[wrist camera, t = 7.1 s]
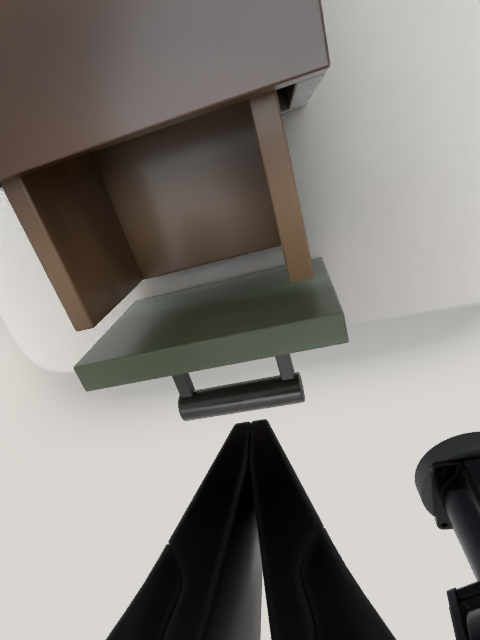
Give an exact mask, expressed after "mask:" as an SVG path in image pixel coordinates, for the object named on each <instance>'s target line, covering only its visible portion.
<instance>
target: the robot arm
mask: <svg viewBox="0 0 480 640" xmlns="http://www.w3.org/2000/svg"><path fill="white" fill-rule="evenodd" d="M440 468H441V469H440ZM431 479H432V490H433V502H434V513H435V521H436V524H437V526H438V528H440V529H454V531H455V533H456V535H457V538H458V539H459V542H460V544H461V546H462V548H463V551H464V553H465V555H466V557H467V559H468V562H469V564H470V566H471V568H472V570H473V573H474V574H475V577H476V579H477V582H475V583H472V584H469V585H467V586H464V587H461V588H459V589H456V588H453V589H450V590H448V591H447V596H448V601H449V605H450V607H449V609H450V613H451V618H452V623H453V627H454V632H455V637H456V640H480V456H477V457H469V458H460V459H452V460H443V461H436V462H434V463H432V465H431ZM262 569H263V577H264V585H265V593H266V600H267V608H268V616H269V624H270V631H271V639H272V640H396V639H395V637H394V636H393V635H392V633H391V631H390V630H389V629H388V627H387V626H386V624H385V623H384V622H383V620H382V619H381V617H380V616H379V614H378V613H377V612H376V610H375V609H374V607H373V606H372V604H371V603H370V601H369V600H368V599H367V597H366V596H365V595H364V593H363V591H362V590H361V588H360V587H359V585H358V584H357V582H356V581H355V579H354V578H353V576H352V574H351V573H350V572H349V570H348V568H347V567H346V565H345V563H344V562H343V560H342V558H341V556H340V555H339V553H338V551H337V549H336V548H335V546H334V544H333V542H332V540H331V539H330V537H329V535H328V533H327V531H326V529H325V528H324V527H323V524H322V522H321V520H320V518H319V516H318V514H317V513H316V511H315V509H314V507H313V505H312V503H311V501H310V499H309V498H308V496H307V494H306V492H305V490H304V488H303V486H302V485H301V483H300V481H299V479H298V477H297V475H296V473H295V471H294V469H293V468H292V466H291V464H290V462H289V460H288V458H287V456H286V454H285V453H284V451H283V449H282V447H281V445H280V443H279V441H278V439H277V437H276V436H275V434H274V432H273V430H272V428H271V427H270V424H269V422H268V421H267V420H266V419H264V420H258V421H253V422H252V423H250V422H243V423H237V424H235V425H234V427H233V429H232V430H231V432H230V434H229V436H228V437H227V439H226V441H225V443H224V445H223V446H222V448H221V450H220V452H219V453H218V455H217V457H216V459H215V460H214V462H213V464H212V466H211V467H210V469H209V471H208V473H207V475H206V476H205V478H204V480H203V482H202V484H201V485H200V487H199V489H198V490H197V492H196V494H195V496H194V497H193V500H192V501H191V503H190V504H189V506H188V508H187V510H186V511H185V513H184V515H183V517H182V519H181V520H180V522H179V524H178V526H177V527H176V529H175V531H174V533H173V534H172V536H171V538H170V540H169V544H167V545H166V547H165V548H164V550H163V552H162V554H161V555H160V557H159V559H158V561H157V562H156V564H155V566H154V567H153V569H152V571H151V572H150V574H149V576H148V578H147V579H146V581H145V582H144V584H143V585H142V587H141V588H140V590H139V591H138V593H137V595H136V596H135V598H134V599H133V601H132V602H131V604H130V605H129V607H128V608H127V610H126V611H125V613H124V614H123V616H122V617H121V618H120V620H119V621H118V623H117V624H116V626H115V627H114V629H113V630H112V632H111V633H110V634H109V636H108V637H107V639H106V640H260V630H261V597H262V596H261V595H262Z"/></svg>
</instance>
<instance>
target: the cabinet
mask: <svg viewBox="0 0 480 640" xmlns="http://www.w3.org/2000/svg"><path fill="white" fill-rule="evenodd" d="M329 67H330V59H329V53H328V46H327V39H326V32H325V26H324V19H323V12H322V5H321V0H0V183H3V182H6V181H9V180H12V179H15V178H18V177H21V176H24V175H26V174H29V173H32V172H35V171H38V170H41V169H44V168H47V167H50V166H53V165H56V164H59V163H62V162H65V161H68V160H71V159H74V158H77V157H80V156H82V155H85V154H88V153H91V152H94V151H97V150H100V149H103V148H106V147H109V146H112V145H115V144H118V143H121V142H124V141H127V140H130V139H133V138H136V137H139V136H141V135H144V134H147V133H150V132H153V131H156V130H159V129H162V128H165V127H168V126H171V125H174V124H177V123H180V122H183V121H186V120H189V119H192V118H195V117H197V116H200V115H203V114H206V113H209V112H212V111H215V110H218V109H221V108H224V107H227V106H230V105H233V104H236V103H239V102H242V101H245V100H248V99H251V98H253V97H256V96H259V95H262V94H265V93H268V92H271V91H274V90H276V91H277V96H278V101H279V106H280V110H281V114H282V113H285V112H288V111H291V110H294V109H297V108H300V107H303V106H306V104H307V102H308V100H309V99H310V97H311V95H312V94H313V92H314V91H315V89H316V87H317V86H318V84H319V82H320V81H321V79H322V77H323V76H324V74H325V73H326V72H327V70H328V68H329ZM0 191H4V190H3V188H2V186H1V184H0Z"/></svg>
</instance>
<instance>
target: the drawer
mask: <svg viewBox="0 0 480 640" xmlns="http://www.w3.org/2000/svg"><path fill="white" fill-rule="evenodd" d="M0 184H1V186H2V188H3V190H4V192H5V194H6V196H7V198H8V200H9V202H10V204H11V206H12V208H13V209H14V211H15V213H16V215H17V217H18V219H19V221H20V223H21V225H22V227H23V229H24V231H25V233H26V235H27V237H28V239H29V241H30V243H31V245H32V246H33V248H34V250H35V252H36V254H37V256H38V258H39V260H40V262H41V264H42V266H43V268H44V270H45V272H46V274H47V276H48V278H49V280H50V282H51V283H52V285H53V287H54V289H55V291H56V293H57V295H58V297H59V299H60V301H61V303H62V305H63V307H64V309H65V311H66V313H67V315H68V317H69V318H70V320H71V322H72V324H73V326H74V328H75V330H76V331H81V330H86V329H90V328H94V327H95V326H96V325H97V324H98V323H99V322H100V321H101V320H102V319H103V318H104V317H105V316H106V315H107V314H108V313H109V312H110V311H111V310H112V309H113V308H114V307H115V306H116V305H117V304H119V303H120V302H121V301H122V300H123V299H124V298H125V297H126V296H127V295H128V294H129V293H130V292H131V291H132V290H133V289H134V288H135V287H136V286H137V285H138V284H139V283H140V282H141V281H142V280H144V279H148V278H152V277H156V276H160V275H164V274H168V273H172V272H176V271H180V270H184V269H188V268H192V267H196V266H200V265H204V264H208V263H212V262H216V261H220V260H224V259H228V258H232V257H236V256H240V255H244V254H248V253H252V252H256V251H260V250H264V249H268V248H272V247H276V246H280V245H282V249H283V253H284V258H285V262H286V266H282V267H277V268H273V269H269V270H265V271H261V272H256V273H252V274H248V275H244V276H240V277H235V278H231V279H227V280H223V281H219V282H214V283H210V284H206V285H202V286H198V287H193V288H189V289H185V290H181V291H176V292H172V293H168V294H164V295H160V296H155V297H151V298H147V299H143V300H139V301H135V302H134V303H133V304H132V305H131V306H130V308H129V309H128V310H127V311H126V312H125V313H124V314H123V315H122V316H121V317H120V318H119V319H118V320H117V321H116V322H115V324H114V325H113V326H112V327H111V328H110V329H109V330H108V331H107V332H106V333H105V334H104V335H103V336H102V337H101V338H100V340H99V341H98V342H97V343H96V344H95V345H94V346H93V347H92V348H91V349H90V350H89V351H88V352H87V353H86V354H85V355H84V357H83V358H82V359H81V360H80V361H79V362H78V363H77V364H76V365H75V366H74V370H75V372H76V374H77V376H78V377H79V379H80V381H81V383H82V385H83V387H84V389H85V390H86V391H92V390H97V389H103V388H108V387H113V386H118V385H124V384H129V383H135V382H140V381H145V380H150V379H156V378H161V377H167V376H172V377H173V379H174V382H175V384H176V386H177V389H178V391H179V394H180V396H179V400H178V407H179V412H180V415H181V417H182V419H183V420H185V421H188V420H194V419H201V418H207V417H213V416H219V415H226V414H232V413H238V412H245V411H251V410H257V409H263V408H270V407H276V406H283V405H288V404H295V403H301V402H304V401H305V396H304V390H303V385H302V380H301V376H300V374H299V373H298V372H297V373H294V369H293V365H292V361H291V357H290V353H294V352H299V351H305V350H310V349H316V348H321V347H326V346H331V345H337V344H342V343H347V342H348V341H349V340H348V334H347V328H346V323H345V317H344V312H343V310H342V307H341V305H340V302H339V299H338V297H337V294H336V292H335V289H334V287H333V284H332V282H331V279H330V276H329V274H328V271H327V269H326V266H325V264H324V261H323V259H322V257H319V258H315V259H311V258H310V253H309V248H308V243H307V238H306V233H305V228H304V224H303V219H302V214H301V209H300V204H299V199H298V194H297V189H296V184H295V179H294V174H293V169H292V165H291V160H290V155H289V150H288V145H287V140H286V135H285V130H284V125H283V120H282V115H281V110H280V106H279V101H278V96H277V91H276V90H274V91H271V92H268V93H265V94H262V95H259V96H256V97H253V98H251V99H248V100H245V101H242V102H239V103H236V104H233V105H230V106H227V107H224V108H221V109H218V110H215V111H212V112H209V113H206V114H203V115H200V116H197V117H195V118H192V119H189V120H186V121H183V122H180V123H177V124H174V125H171V126H168V127H165V128H162V129H159V130H156V131H153V132H150V133H147V134H144V135H141V136H139V137H136V138H133V139H130V140H127V141H124V142H121V143H118V144H115V145H112V146H109V147H106V148H103V149H100V150H97V151H94V152H91V153H88V154H85V155H82V156H80V157H77V158H74V159H71V160H68V161H65V162H62V163H59V164H56V165H53V166H50V167H47V168H44V169H41V170H38V171H35V172H32V173H29V174H26V175H24V176H21V177H18V178H15V179H12V180H9V181H6V182H3V183H0ZM273 356H275V357H276V360H277V364H278V368H279V372H280V375H279V376H274V377H268V378H262V379H257V380H251V381H245V382H240V383H234V384H228V385H223V386H217V387H211V388H206V389H200V390H195V389H194V386H193V383H192V381H191V378H190V376H189V373H188V372H193V371H199V370H204V369H209V368H214V367H219V366H225V365H230V364H236V363H241V362H246V361H251V360H257V359H262V358H268V357H273Z"/></svg>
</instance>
